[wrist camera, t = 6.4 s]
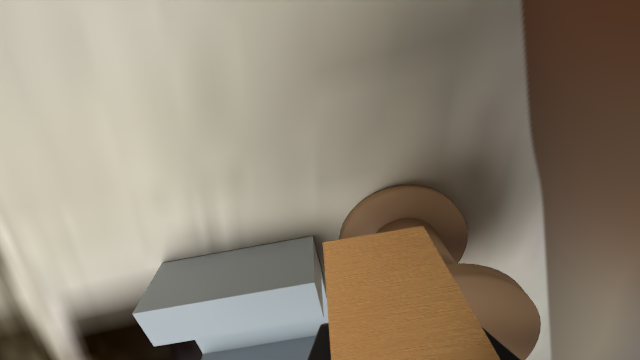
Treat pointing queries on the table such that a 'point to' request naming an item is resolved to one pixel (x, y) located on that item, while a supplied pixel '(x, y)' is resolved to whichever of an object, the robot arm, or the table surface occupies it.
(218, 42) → the table surface
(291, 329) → the bracket
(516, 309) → the tan door knob
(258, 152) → the table surface
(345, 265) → the brown wooden block
